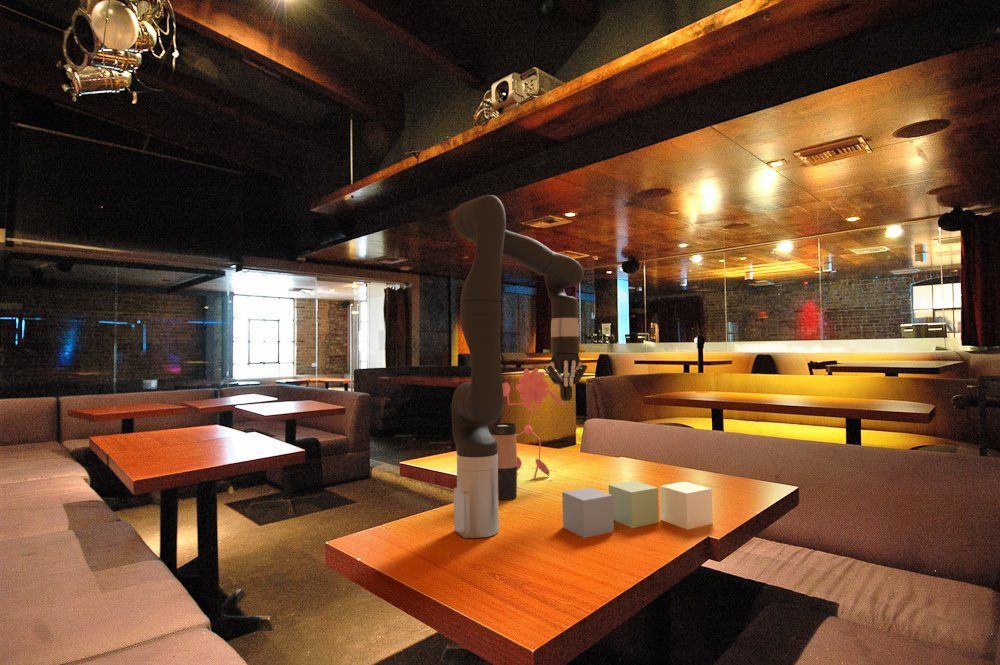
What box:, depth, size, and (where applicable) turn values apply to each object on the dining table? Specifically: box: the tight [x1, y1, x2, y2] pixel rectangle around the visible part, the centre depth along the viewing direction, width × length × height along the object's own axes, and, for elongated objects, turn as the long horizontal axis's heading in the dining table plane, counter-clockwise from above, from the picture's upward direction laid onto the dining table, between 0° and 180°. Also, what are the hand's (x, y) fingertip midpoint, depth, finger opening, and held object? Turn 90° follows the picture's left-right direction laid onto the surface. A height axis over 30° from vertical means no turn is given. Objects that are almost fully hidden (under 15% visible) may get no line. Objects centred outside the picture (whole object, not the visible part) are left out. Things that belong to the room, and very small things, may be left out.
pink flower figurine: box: [502, 367, 564, 482], centre depth 171 cm, size 15×26×35 cm, turn 52°
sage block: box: [608, 480, 660, 529], centre depth 121 cm, size 8×8×8 cm
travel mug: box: [488, 422, 518, 502], centre depth 143 cm, size 8×8×20 cm
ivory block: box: [659, 481, 714, 531], centre depth 119 cm, size 8×8×8 cm
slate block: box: [561, 487, 615, 539], centre depth 115 cm, size 8×8×8 cm
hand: (566, 400), depth 137 cm, fingers closed
